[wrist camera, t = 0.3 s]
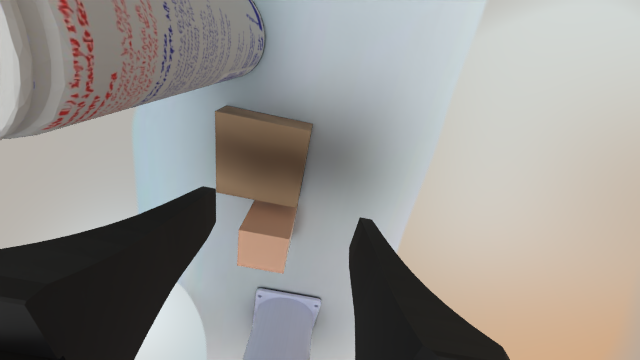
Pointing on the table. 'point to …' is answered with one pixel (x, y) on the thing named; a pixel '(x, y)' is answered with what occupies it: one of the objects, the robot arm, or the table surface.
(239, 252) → the block
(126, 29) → the beverage can
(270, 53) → the table surface
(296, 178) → the plinth
